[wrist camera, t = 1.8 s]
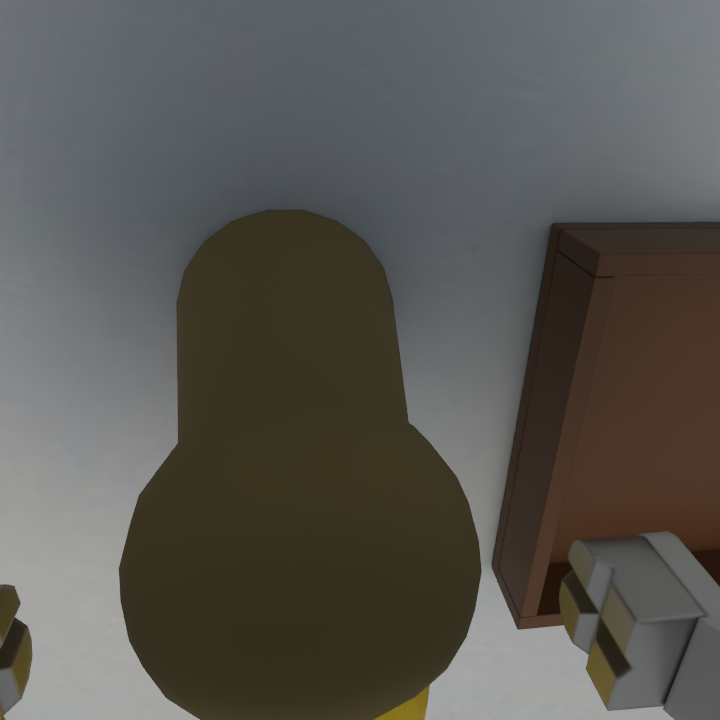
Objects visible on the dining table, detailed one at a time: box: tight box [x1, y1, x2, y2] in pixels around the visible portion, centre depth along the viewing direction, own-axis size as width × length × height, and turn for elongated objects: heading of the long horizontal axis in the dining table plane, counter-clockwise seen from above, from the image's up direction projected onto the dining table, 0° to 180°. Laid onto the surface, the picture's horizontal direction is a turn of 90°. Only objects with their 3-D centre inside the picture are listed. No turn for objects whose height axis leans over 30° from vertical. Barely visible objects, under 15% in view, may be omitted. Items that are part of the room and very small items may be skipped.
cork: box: [119, 210, 481, 720], centre depth 12 cm, size 6×6×11 cm
